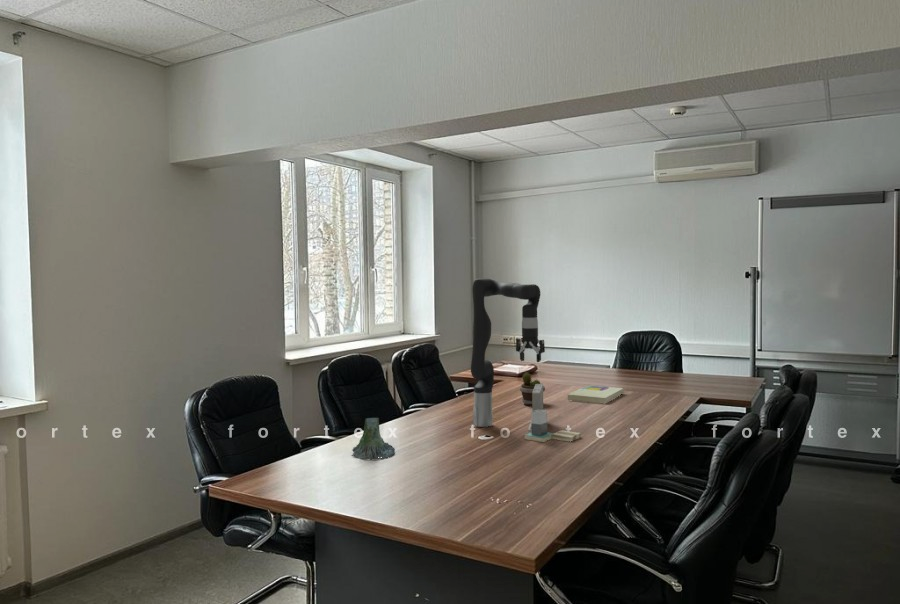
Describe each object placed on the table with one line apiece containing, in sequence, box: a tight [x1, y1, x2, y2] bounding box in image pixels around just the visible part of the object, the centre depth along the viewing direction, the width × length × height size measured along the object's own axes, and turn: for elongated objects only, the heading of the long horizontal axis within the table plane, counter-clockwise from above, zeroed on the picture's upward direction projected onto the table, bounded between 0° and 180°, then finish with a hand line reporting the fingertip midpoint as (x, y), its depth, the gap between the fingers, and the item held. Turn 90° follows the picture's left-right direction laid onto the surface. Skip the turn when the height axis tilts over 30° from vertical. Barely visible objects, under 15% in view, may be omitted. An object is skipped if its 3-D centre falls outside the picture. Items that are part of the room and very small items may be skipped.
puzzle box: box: [567, 385, 625, 405], centre depth 394 cm, size 36×5×24 cm
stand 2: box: [550, 430, 582, 443], centre depth 298 cm, size 10×10×2 cm
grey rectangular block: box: [530, 409, 548, 436], centre depth 298 cm, size 6×5×11 cm
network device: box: [527, 383, 544, 432], centre depth 320 cm, size 26×9×20 cm, turn 168°
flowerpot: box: [519, 371, 546, 407], centre depth 376 cm, size 14×15×20 cm
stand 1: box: [524, 431, 555, 443], centre depth 298 cm, size 10×10×2 cm
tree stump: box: [351, 417, 396, 461], centre depth 279 cm, size 18×20×18 cm
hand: (530, 361), depth 299 cm, fingers open, 8 cm apart
